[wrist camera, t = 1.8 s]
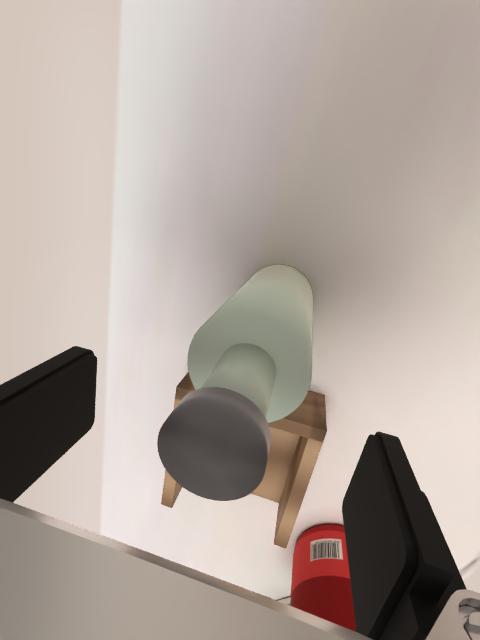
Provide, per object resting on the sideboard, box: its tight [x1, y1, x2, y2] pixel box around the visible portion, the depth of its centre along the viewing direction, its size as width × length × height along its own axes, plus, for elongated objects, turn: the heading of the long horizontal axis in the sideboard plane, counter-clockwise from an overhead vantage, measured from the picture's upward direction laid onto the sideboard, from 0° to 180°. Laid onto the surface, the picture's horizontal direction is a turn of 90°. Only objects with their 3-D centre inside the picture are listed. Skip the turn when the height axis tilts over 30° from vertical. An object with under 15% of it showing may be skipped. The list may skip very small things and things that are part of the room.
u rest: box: [161, 372, 327, 548], centre depth 26 cm, size 12×11×5 cm
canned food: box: [290, 524, 356, 632], centre depth 26 cm, size 8×8×11 cm
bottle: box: [158, 265, 313, 501], centre depth 16 cm, size 5×5×17 cm
